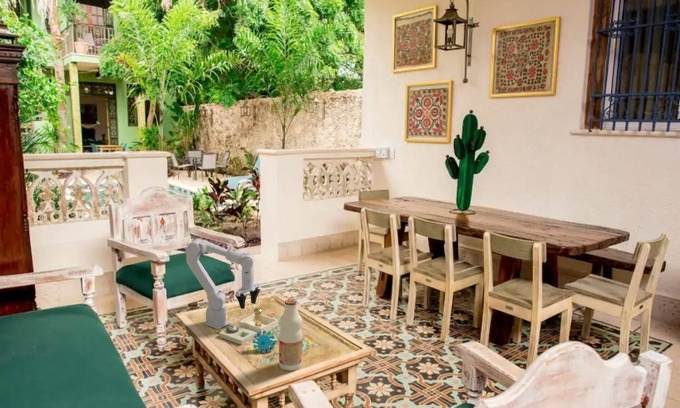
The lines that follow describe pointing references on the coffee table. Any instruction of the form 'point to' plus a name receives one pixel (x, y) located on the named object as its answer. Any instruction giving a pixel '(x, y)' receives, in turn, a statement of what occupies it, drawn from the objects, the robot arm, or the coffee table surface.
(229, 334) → the block
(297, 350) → the fruit juice
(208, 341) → the coffee table surface
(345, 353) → the coffee table surface
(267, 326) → the tray
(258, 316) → the pin
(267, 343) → the gear
